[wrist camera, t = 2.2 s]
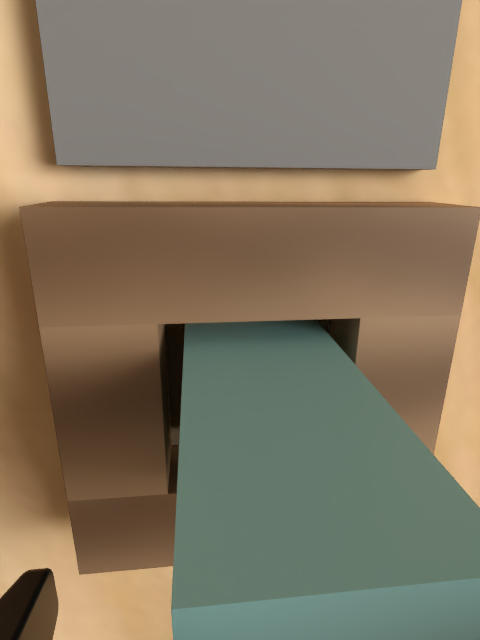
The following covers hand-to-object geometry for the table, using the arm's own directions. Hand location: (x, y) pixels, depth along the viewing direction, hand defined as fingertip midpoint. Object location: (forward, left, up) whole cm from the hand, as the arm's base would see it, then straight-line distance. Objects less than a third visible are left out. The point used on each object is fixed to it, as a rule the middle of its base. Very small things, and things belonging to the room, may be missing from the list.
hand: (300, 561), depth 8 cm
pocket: (0, 0, -8) cm, 8 cm away
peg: (0, 0, -8) cm, 8 cm away
